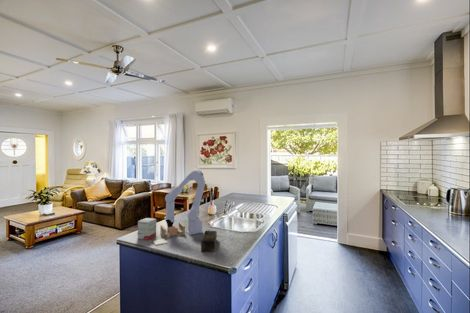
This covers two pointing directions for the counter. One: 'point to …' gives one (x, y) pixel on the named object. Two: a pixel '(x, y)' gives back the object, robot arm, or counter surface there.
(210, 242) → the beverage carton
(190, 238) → the counter surface
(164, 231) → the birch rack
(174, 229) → the terracotta block
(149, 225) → the ink box
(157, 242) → the white tile
